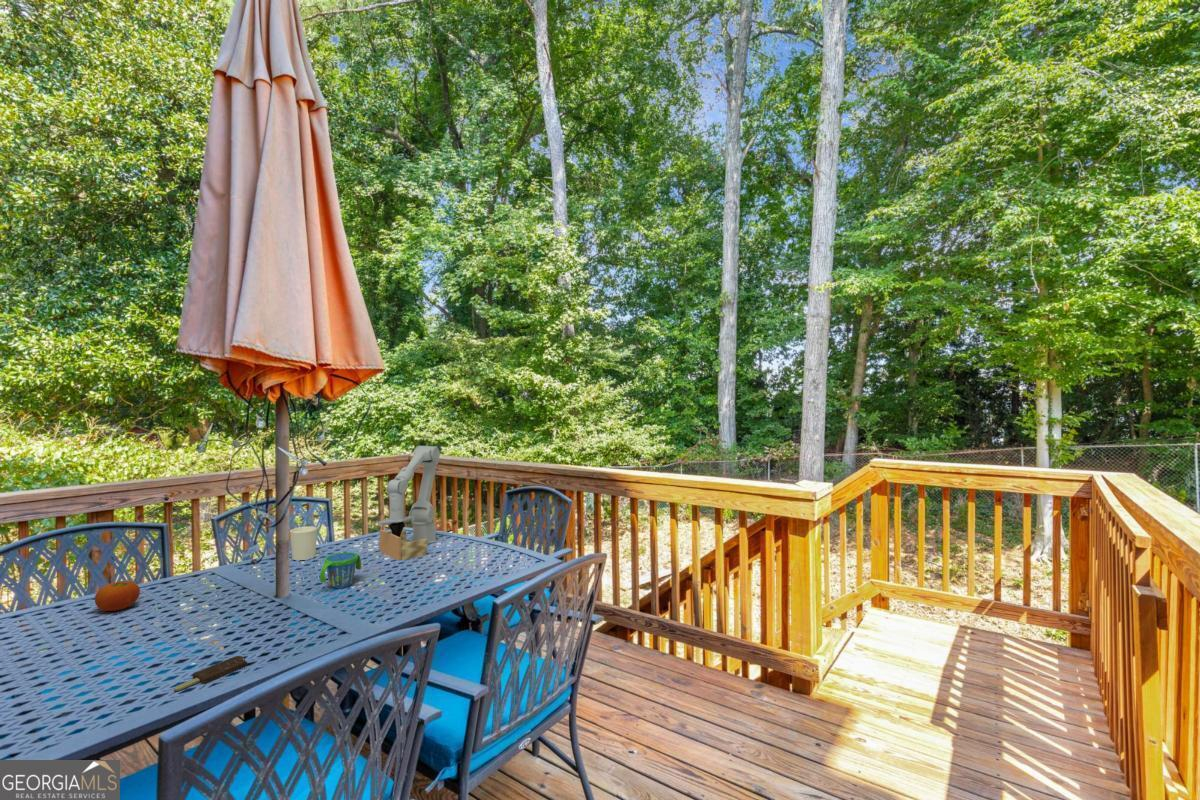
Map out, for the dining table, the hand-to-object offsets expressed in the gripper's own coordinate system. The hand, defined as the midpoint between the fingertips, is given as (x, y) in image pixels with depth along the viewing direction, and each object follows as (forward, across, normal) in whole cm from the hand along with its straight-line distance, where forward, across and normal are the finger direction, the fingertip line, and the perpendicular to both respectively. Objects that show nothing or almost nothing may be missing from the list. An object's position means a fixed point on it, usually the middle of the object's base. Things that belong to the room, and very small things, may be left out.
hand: (396, 540), depth 222 cm
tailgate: (+6, -3, 0) cm, 7 cm away
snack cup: (+6, -29, -21) cm, 37 cm away
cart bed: (+6, +3, 0) cm, 7 cm away
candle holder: (+6, -29, +21) cm, 37 cm away
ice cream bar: (+7, -73, -62) cm, 96 cm away
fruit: (+6, -86, +6) cm, 87 cm away
